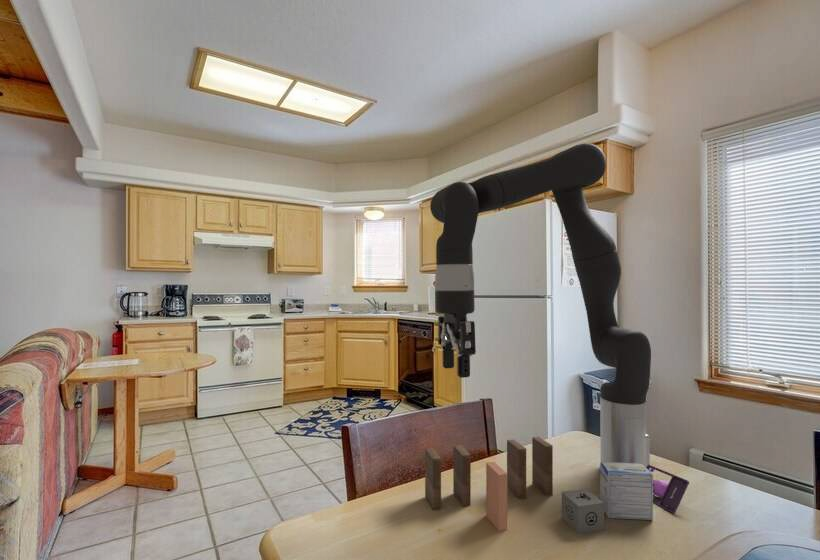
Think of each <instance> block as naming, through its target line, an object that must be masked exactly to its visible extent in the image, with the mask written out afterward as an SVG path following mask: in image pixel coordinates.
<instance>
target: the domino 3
mask: <svg viewBox="0 0 820 560" xmlns="http://www.w3.org/2000/svg"><path fill="white" fill-rule="evenodd" d="M485 466H486V467H485V468H486V469H485V470H486V471H485V474H486V475H485V476H486V477H485V478H486V482H485V485H486V487H485V488H486V489H485V490H486V491H485V493H486V494H485V497H486V499H485V500H486V501H485V502H486V504H485V506H486V507H485V508H486V509H485V510H486V511H485V514H486V515H485V516H486V517H487V518H488V520H489V521H490V522H491V523H492V524H493V526H494V527H495V529H497V530H498V532H501V531H507V530H508V488H507V471H505V470H504V469H503V468H501V467H500V466H499V464H497V463H496V462H495V461H489V462H486V464H485Z"/></svg>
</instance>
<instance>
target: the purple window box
mask: <svg viewBox="0 0 820 560" xmlns="http://www.w3.org/2000/svg"><path fill="white" fill-rule="evenodd" d="M646 468H647V469H648V470H649V469H650V470H649V471H650V472H651V473H654V471H657V472H660V473H662V474H665V475H667V476H670V477H671V478H670V480H669V482H668V481H665V480H662V479H654V478H653V505H654V504H655V505H656V506H659V507H660V508H662V509H663V510H666V511H668V512H670V513H672V514H674V515H675V514H676V513H677V510H678V508H679V506H680V503H681V502H682V499H683V498H684V495H685V493H686V491H687V489H688V486H689V484H690V481H689V480H687V479H684V478H683V477H680V476H678V475H675V474H673V473H670V472H668V471H666V470H663V469H661V468H658V467H656V466H653V465H651V464H650V465H647V467H646ZM656 496H657V497H659V498H661V499H660V501H659V503H658V502H656V501H655V500H656Z"/></svg>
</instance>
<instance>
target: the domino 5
mask: <svg viewBox="0 0 820 560" xmlns="http://www.w3.org/2000/svg"><path fill="white" fill-rule="evenodd" d="M531 439H532V440H531V442H532V444H531V445H532V447H531V448H532V449H531V452H532V453H531V454H532V455H531V457H532V458H531V461H532V463H531V464H532V465H531V466H532V469H531V473H532V474H531V478H532V479H531V480H532V482H531V483H532V485H533V486H534V487H535V488H536V489H537V490H538V491H539V492H540V493H542V494H543V495H544V496H546V497H547V496H553V492H554V490H553V487H554V485H553V484H554V482H553V480H554V477H553V475H554V473H553V471H554V469H553V467H554V466H553V463H554V461H553V451H554V449H553V447H554V446H553V444H551V443H550V442H548V441H546V440H544V439H543V438H541V437H540V436H535V437H532V438H531Z"/></svg>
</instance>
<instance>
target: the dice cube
mask: <svg viewBox="0 0 820 560" xmlns="http://www.w3.org/2000/svg"><path fill="white" fill-rule="evenodd" d="M561 519H562V520H563V521H564V522H566V523H567V524H568V525H569V527H571V528H572V529H573V531H575V532H576V533H577V534H579V535H580V534H586V533H587V534H588V533H594V532H603V531H605V512H604V502H602V501H601V500H600V498H599V497H597V496H596V495H594V494H593V493H592V492H590V491H589V490H588V489H587V488H582V489H573V490H566V491H561Z"/></svg>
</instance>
